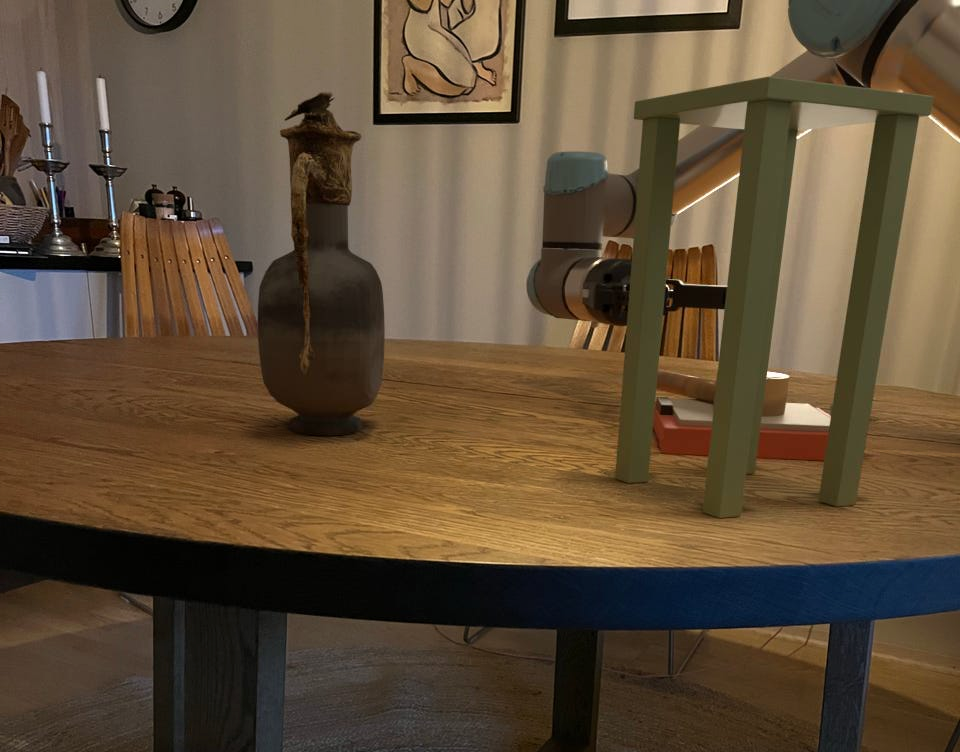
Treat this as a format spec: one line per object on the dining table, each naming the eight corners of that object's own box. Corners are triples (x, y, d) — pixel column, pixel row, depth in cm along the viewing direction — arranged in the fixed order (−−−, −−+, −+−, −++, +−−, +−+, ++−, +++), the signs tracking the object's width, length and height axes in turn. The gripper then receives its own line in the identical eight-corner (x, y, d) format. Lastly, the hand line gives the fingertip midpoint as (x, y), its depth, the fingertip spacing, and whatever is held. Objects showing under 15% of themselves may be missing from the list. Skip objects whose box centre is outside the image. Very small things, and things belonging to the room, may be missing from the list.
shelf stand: (865, 506, 79) (934, 95, 69) (717, 520, 73) (768, 75, 63) (741, 467, 92) (783, 116, 81) (606, 477, 86) (634, 101, 76)
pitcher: (390, 419, 111) (389, 106, 100) (364, 452, 93) (360, 76, 82) (289, 415, 111) (278, 103, 100) (244, 448, 93) (224, 73, 82)
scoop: (799, 415, 102) (804, 377, 101) (742, 417, 99) (747, 378, 98) (679, 387, 119) (682, 355, 118) (628, 389, 116) (630, 356, 115)
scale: (815, 430, 112) (820, 398, 111) (857, 462, 96) (863, 425, 94) (649, 422, 114) (652, 391, 112) (662, 453, 97) (665, 416, 96)
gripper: (692, 323, 130) (808, 338, 112) (515, 324, 120) (612, 341, 102) (698, 260, 127) (818, 265, 109) (517, 255, 117) (618, 260, 99)
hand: (719, 301), depth 105 cm, fingers open, 13 cm apart
